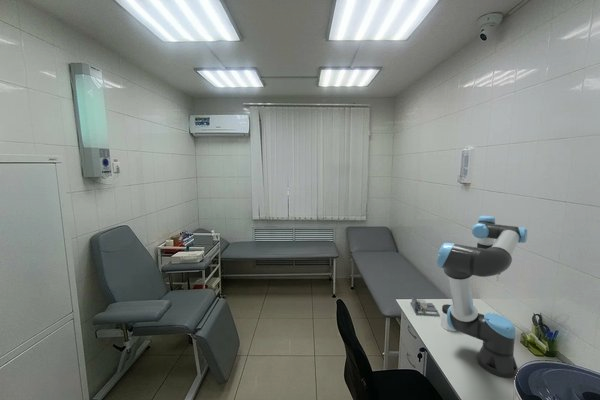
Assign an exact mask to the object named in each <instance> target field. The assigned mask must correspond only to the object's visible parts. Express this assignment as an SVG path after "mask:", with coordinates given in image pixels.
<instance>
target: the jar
mask: <svg viewBox="0 0 600 400" xmlns="http://www.w3.org/2000/svg"><path fill="white" fill-rule="evenodd" d="M451 305H452V304H443V305H442V306H441V311H440V312H441V313H440V316H441V317H440V327H442V328H443V329H445V330H446V331H448V332H449V331H450V332H457V331H456V330H454V329H452V328H451V327H450V326H449V325H448V322H447V311H448V308H449V307H450V306H451Z"/></svg>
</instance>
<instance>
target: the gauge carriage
mask: <svg viewBox="0 0 600 400" xmlns="http://www.w3.org/2000/svg"><path fill="white" fill-rule="evenodd" d="M417 301H418V306H419V308H420V309H423V310H424V309H427V303H428V302H426V300H425V299H419V298H417ZM424 312H425V310H424Z"/></svg>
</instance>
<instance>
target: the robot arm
mask: <svg viewBox="0 0 600 400" xmlns="http://www.w3.org/2000/svg"><path fill="white" fill-rule="evenodd" d="M477 221H478V223H476V224H474V225H473V226H472V227H471V233H472V235H473V237H475V238H477V243H476V246H472V245H471V246H470V245H464V244H457V243H455V242H444V243H442V245H441V246H440V248H439V251H438V254H437V258H436V266H438V267H439V268H440V269H443V272H444V274H445V275H446V276H447V278H448V282H449V288H450V295H451V301H452V304H450V305H451V306H450V307H449V308H448V311H447V322H448V325H449V326H450V327H451V328H452V329H454V330H456V331H455V332H459V333H462V334H464V335H467V336H470V337H473V338H475V339H477V340H480V341H482V345H481V347H480V349H479V351H478V353H477V357H476V358H477V359H476V360H477V362H478V364H479V365H480V367H482V368H483V369H484V370H486V371H487V372H489V373H491V374H492V375H495V376H498V377H502V378H514V377H516V376H517V375H516V373H517V374H518V365H517V361H516V358H515V355H514V354H515V353H514V352H515V339H516V336H517V334H516V327H515V325H514V323H513V322H512V321H511V320H510V319H509V318H507V317H505V316H504V315H501V314H498V313H494V312H486V313H485V314H482V313H480V312H479V311H478V309H477V308H476V306H475V305H474V298H473V289H472V282H471V281H472V280H473V276H476V277H478V278H479V277H480V278H481V277H482V278H485V277H487V278H488V277H493V276H494V277H493V279H494V280H495V281H496V282H498V281H499V275H501V274H502V273H503V272H505V271H506V270H508V269H509V268H510V266H511V264H512V262H513V257H512V255H513V253H514V251H515V249H516V247H517V246H518V244H519V243H520V244H525V243H526V242H527V238H528V229H527V228H526V227H523V226H513V225H505V224H504V225H503V224H496V219H495V217H494V216H491V215H480V216H478V220H477ZM494 240H495V241H494Z"/></svg>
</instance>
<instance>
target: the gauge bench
mask: <svg viewBox="0 0 600 400" xmlns="http://www.w3.org/2000/svg"><path fill="white" fill-rule="evenodd" d="M426 303H427V309H424V310H425V312H424V310H423V309H420V308H419V306H418V298H417V297H416V296H415V295H412V296H411V301H410V306H411V307H412V310H413V312H414V314H415V315H416V316H424V317H425V316H427V317H440V316H441V313H439V310H438V309H437V308H436V307H435V305H434V304H433V302H426Z"/></svg>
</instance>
